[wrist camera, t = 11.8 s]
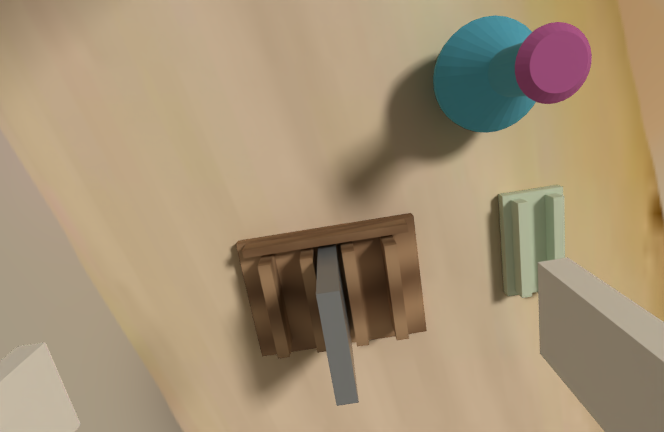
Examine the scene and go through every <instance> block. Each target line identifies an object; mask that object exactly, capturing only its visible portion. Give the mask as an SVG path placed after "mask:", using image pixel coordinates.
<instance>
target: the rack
mask: <svg viewBox="0 0 664 432" xmlns="http://www.w3.org/2000/svg"><path fill="white" fill-rule="evenodd" d="M331 244H336V249H337V255H338V261H339V267H340V272H341V278H342V284H343V290H344V296H345V302H346V308H347V314H348V320H349V326H350V333H351V341H352V342H356V343H357V346H363V345H369V341H368V340H372V339H378V338H385V337H391V336H396V339H397V340H403V339H409V336H408V334H411V333H417V332H424V331H426V322H425V313H424V305H423V296H422V287H421V278H420V269H419V261H418V252H417V243H416V234H415V225H414V217H413V215H412V214H411V213H408V214H402V215H396V216H390V217H383V218H377V219H371V220H365V221H358V222H352V223H346V224H340V225H333V226H327V227H321V228H315V229H309V230H302V231H296V232H290V233H284V234H277V235H271V236H265V237H259V238H252V239H246V240H240V241H238V242H237V244H236V246H237V251H238V255H239V259H240V263H241V268H242V272H243V276H244V280H245V285H246V289H247V293H248V297H249V302H250V306H251V310H252V314H253V319H254V323H255V327H256V331H257V336H258V340H259V344H260V348H261V353H262V356H267V355H274V354H277V356H278V358H285V357H290V353H291V352H293V351H300V350H306V349H313V348H317V352H324V351H326V346H325V341H324V335H323V330H322V325H321V319H320V314H319V309H318V303H317V298H316V280H317V258H318V246H324V245H331Z"/></svg>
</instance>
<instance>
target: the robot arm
mask: <svg viewBox="0 0 664 432" xmlns="http://www.w3.org/2000/svg"><path fill="white" fill-rule="evenodd" d="M538 296H539V333H540V354H541V355H542V356H543V358H544V359H545V360H546V361H547V362H548V364H549V365H550V366H551V367H552V368H553V370H554V371H555V372H556V373H557V374H558V376H559V377H560V378H561V379H562V380H563V382H564V383H565V384H566V385H567V387H568V388H569V389H570V390H571V391H572V393H573V394H574V395H575V396H576V397H577V399H578V400H579V401H580V402H581V403H582V405H583V406H584V407H585V408H586V409H587V411H588V412H589V413H590V414H591V415H592V417H593V418H594V419H595V420H596V422H597V423H598V424H599V425H600V426H601V428H602V429H603V430H604V431H605V432H664V322H663V321H661V320H660V319H658V318H657V317H656V316H654V315H653V314H651V313H650V312H648V311H647V310H645V309H644V308H642V307H641V306H639V305H638V304H636V303H635V302H633V301H632V300H630V299H629V298H627V297H626V296H624V295H623V294H621V293H620V292H618V291H617V290H615V289H614V288H612V287H611V286H609V285H608V284H606V283H605V282H603V281H602V280H600V279H599V278H598V277H596V276H595V275H593V274H592V273H590V272H589V271H587V270H586V269H584V268H583V267H581V266H580V265H578V264H577V263H575V262H574V261H572V260H571V259H569V258H568V257H567V258H561V259H555V260H549V261H542V262H538ZM79 426H80V421H79V419H78V417H77V414H76V412H75V410H74V407H73V405H72V403H71V401H70V398H69V396H68V394H67V391H66V389H65V387H64V384H63V382H62V380H61V377H60V375H59V373H58V371H57V368H56V366H55V364H54V361H53V359H52V357H51V354H50V352H49V350H48V348H47V345H46V343H45V342H42V343H37V344H30V345H23V346H18V347H16V348H15V349H14V350H13V351H12V352H10V353H9V354H8V355H7V356H5V357H4V358H3V359H2V360H0V432H75V431H76V430H77V429H78V427H79Z"/></svg>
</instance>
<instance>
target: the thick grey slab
mask: <svg viewBox="0 0 664 432" xmlns="http://www.w3.org/2000/svg"><path fill="white" fill-rule="evenodd" d="M316 298H317V303H318V309H319V314H320V319H321V325H322V330H323V335H324V341H325V346H326V351H327V357H328V362H329V367H330V372H331V378H332V383H333V388H334V394H335V399H336V404H337V406H338V405H345V404H352V403H358V402H359V401H358V393H357V384H356V375H355V367H354V358H353V350H352V341H351V333H350V326H349V320H348V314H347V308H346V302H345V296H344V290H343V284H342V278H341V272H340V267H339V261H338V255H337V249H336V244H331V245H324V246H318V258H317V280H316Z"/></svg>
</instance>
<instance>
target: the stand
mask: <svg viewBox="0 0 664 432" xmlns="http://www.w3.org/2000/svg"><path fill="white" fill-rule="evenodd" d="M498 199H499V216H500V234H501V252H502V269H503V287H504V293H505V294H506V295H507V296H514V295H520V296H521V297H522V298H524V297H531V296H532V293H533V292H538V262H542V261H549V260H555V259H561V258H565V221H564V196H563V186H560V185H553V186H547V187H540V188H534V189H528V190H522V191H515V192H509V193H503V194H498Z"/></svg>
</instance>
